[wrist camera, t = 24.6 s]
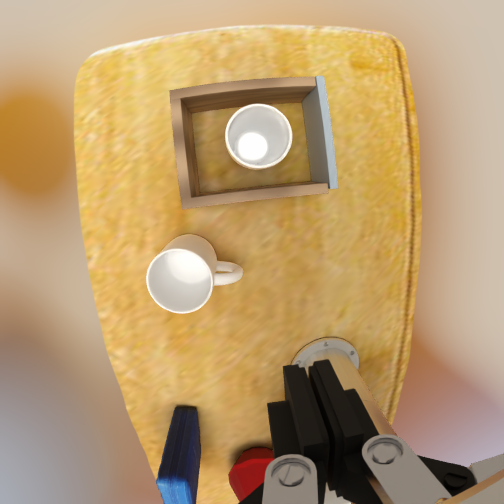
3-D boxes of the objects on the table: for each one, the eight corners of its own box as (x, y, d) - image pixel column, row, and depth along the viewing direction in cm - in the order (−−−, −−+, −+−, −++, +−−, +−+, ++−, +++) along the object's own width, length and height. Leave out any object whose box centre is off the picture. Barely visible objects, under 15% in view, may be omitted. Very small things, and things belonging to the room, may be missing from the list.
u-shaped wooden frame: (310, 189, 46) (328, 193, 37) (192, 202, 46) (182, 209, 36) (299, 94, 42) (314, 76, 33) (182, 106, 42) (169, 90, 33)
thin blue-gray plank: (318, 185, 46) (338, 188, 37) (311, 186, 46) (330, 188, 37) (307, 94, 42) (323, 76, 33) (300, 94, 42) (315, 76, 33)
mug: (244, 235, 47) (246, 252, 37) (240, 289, 49) (242, 317, 39) (163, 231, 46) (145, 246, 36) (163, 284, 48) (147, 311, 38)
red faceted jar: (218, 443, 57) (216, 521, 37) (282, 431, 57) (297, 509, 37) (239, 481, 61) (242, 549, 41) (295, 470, 60) (309, 538, 41)
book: (203, 450, 57) (198, 526, 38) (179, 449, 57) (167, 523, 38) (199, 403, 54) (189, 487, 35) (171, 402, 54) (152, 483, 34)
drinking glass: (277, 128, 44) (297, 108, 29) (271, 174, 45) (289, 173, 31) (230, 122, 43) (228, 98, 28) (224, 168, 45) (220, 165, 30)
